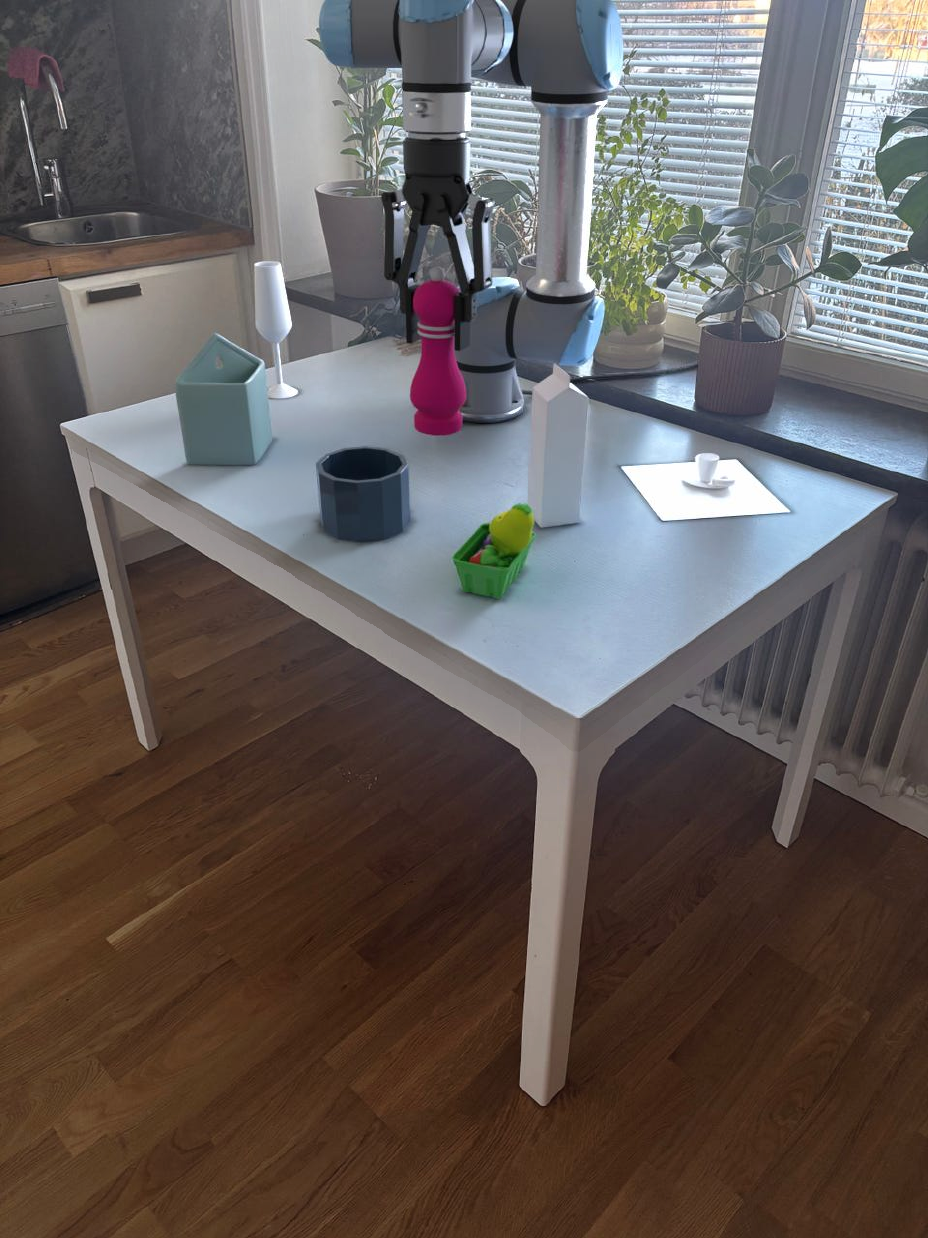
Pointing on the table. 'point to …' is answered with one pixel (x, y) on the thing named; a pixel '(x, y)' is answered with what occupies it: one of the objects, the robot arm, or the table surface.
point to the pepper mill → (437, 359)
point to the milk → (556, 450)
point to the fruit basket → (496, 552)
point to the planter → (224, 406)
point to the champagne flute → (272, 317)
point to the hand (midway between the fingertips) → (437, 343)
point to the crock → (363, 493)
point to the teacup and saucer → (702, 489)
